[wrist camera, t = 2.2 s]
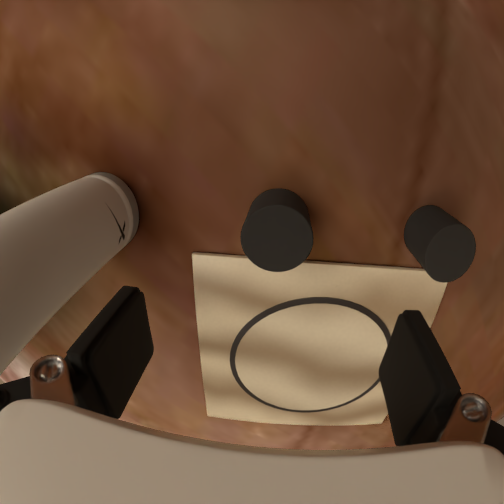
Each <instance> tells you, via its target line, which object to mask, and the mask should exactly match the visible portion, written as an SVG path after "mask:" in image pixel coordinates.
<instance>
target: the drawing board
mask: <svg viewBox="0 0 504 504" xmlns="http://www.w3.org/2000/svg"><path fill="white" fill-rule="evenodd" d="M192 264H193V279H194V293H195V306H196V318H197V329H198V339H199V349H200V359H201V368H202V376H203V385H204V393H205V400H206V408H207V415H208V416H211V417H218V418H225V419H233V420H241V421H250V422H261V423H274V424H290V425H365V424H381V423H382V422H383V420H384V419H385V417H386V415H387V414H388V410H387V406H386V402H385V398H384V394H383V390H382V386H381V382H380V378H379V366H380V364H381V361H382V359H383V356H384V354H385V351H386V349H387V346H388V343H389V341H390V338H391V335H392V332H393V329H394V327H395V324H396V321H397V318H398V315H399V314H402V313H403V312H404V310H419V311H420V312H421V313H422V315H423V317H424V319H425V320H426V322H427V324H428V326H429V327H430V328H431V325H432V323H433V320H434V318H435V315H436V313H437V310H438V307H439V305H440V302H441V299H442V297H443V294H444V291H445V288H446V285H447V282H446V283H442V282H437V281H435V280H433V279H432V278H431V277H430V276H429V275H428V274H427V272H426V271H425V270H424V269H419V268H404V267H390V266H376V265H362V264H348V263H334V262H320V261H306V260H305V261H304V262H303V263H302V264H300V265H299V266H297V267H296V268H294V269H291V270H289V271H284V272H271V271H267V270H264V269H261V268H259V267H258V266H256V265H255V264H253V263H252V262H251V261H250V260H249V259H248V257H247V256H239V255H226V254H213V253H200V252H193V253H192Z"/></svg>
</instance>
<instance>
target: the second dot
mask: <svg viewBox="0 0 504 504" xmlns="http://www.w3.org/2000/svg"><path fill="white" fill-rule="evenodd" d="M404 240H405V244H406V246H407V248H408V249H409V251H410V252H411V253H412V254H413V256H414V257H415V258H416V259H417V261H418V262H419V263H420V264H421V266H422V267H423V268H424V270H425V271H426V272H427V274H428V275H429V276H430V277H431V278H432V279H433V280H435V281H437V282H442V283H446V282H451V281H454V280H456V279H458V278H459V277H461V276H462V275H463V274H464V273H465V272H466V271H467V270H468V268H469V267H470V265H471V263H472V261H473V259H474V256H475V250H476V243H475V238H474V235H473V234H472V232H471V231H470V229H469V228H467V227H466V226H465V225H463V224H462V223H461V222H459V221H458V220H457V219H455V218H454V217H452V216H451V215H450V214H448V213H447V212H445V211H444V210H443V209H441V208H440V207H437V206H434V205H427V206H423V207H421V208H419V209H417V210H416V211H415V212H414V213H413V214H412V215H411V216H410V218H409V219H408V221H407V223H406V226H405V230H404Z"/></svg>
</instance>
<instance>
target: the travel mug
mask: <svg viewBox="0 0 504 504" xmlns="http://www.w3.org/2000/svg"><path fill="white" fill-rule="evenodd" d="M138 223H139V211H138V206H137V202H136V200H135V197H134V195H133V193H132V191H131V190H130V188H129V187H128V186H127V185H126V184H125V183H124V182H123V181H122V180H121V179H120V178H118V177H116V176H115V175H113V174H109V173H106V172H98V173H93V174H90V175H88V176H85V177H83V178H80V179H78V180H75V181H73V182H70V183H68V184H65V185H63V186H60V187H58V188H56V189H53V190H51V191H49V192H47V193H44V194H42V195H40V196H38V197H35V198H33V199H31V200H29V201H27V202H25V203H23V204H21V205H18V206H16V207H14V208H12V209H10V210H8V211H6V212H4V213H3V214H1V215H0V375H1V374H2V373H3V371H4V370H5V369H6V368H7V367H8V365H9V364H10V363H11V362H12V361H13V360H14V358H15V357H16V356H17V355H18V354H19V353H20V351H21V350H22V349H23V348H24V347H25V346H26V345H27V344H28V342H29V341H30V340H31V339H32V338H33V337H34V336H35V335H36V334H37V332H38V331H39V330H40V329H41V328H42V327H43V326H44V325H45V324H46V323H47V322H48V321H49V320H50V319H51V317H52V316H53V315H54V314H55V313H56V312H57V311H58V310H59V309H60V308H61V307H62V306H63V305H64V304H65V303H66V302H67V301H68V300H69V299H70V298H71V297H72V296H73V295H74V294H75V293H76V292H77V291H78V290H79V289H80V288H81V287H82V286H83V285H84V284H85V283H86V282H87V281H88V280H89V279H90V278H91V277H92V276H93V275H94V274H96V273H97V272H98V271H99V270H100V269H101V268H102V267H103V266H104V265H105V264H106V263H107V262H108V261H109V260H111V259H112V258H113V257H114V256H115V255H116V254H117V253H118V252H119V251H120V250H121V249H123V248H124V247H125V246H126V245H127V244H128V243H129V242H130V241H131V240H132V239H133V237H134V236H135V234H136V231H137V228H138Z"/></svg>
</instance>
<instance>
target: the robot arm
mask: <svg viewBox="0 0 504 504" xmlns="http://www.w3.org/2000/svg"><path fill="white" fill-rule="evenodd" d="M153 350H154V347H153V342H152V337H151V331H150V326H149V321H148V315H147V310H146V304H145V298H144V294H143V292H140V290H139V288H137V287H130V286H123V287H122V288H121V289H120V290H119V291H118V292H117V293H116V295H115V296H114V297H113V298H112V299H111V300H110V301H109V302H108V304H107V305H106V306H105V307H104V308H103V309H102V310H101V312H100V313H99V314H98V315H97V316H96V317H95V319H94V320H93V321H92V322H91V323H90V325H89V326H88V327H87V328H86V329H85V330H84V332H83V333H82V334H81V335H80V336H79V338H78V339H77V340H76V341H75V343H74V344H73V345H72V346H71V347H70V349H69V350H68V351H67V352H66V353H67V356H66V357H65V358H64V359H63V358H62V357H60V356H58V355H47V356H44V357H41V358H40V359H38V360H37V361H36V362H35V363H34V364H33V365H32V367H31V369H30V376H29V377H25V378H22V379H18V380H15V381H11V382H8V383H4V384H0V504H504V427H503V426H502V425H500V424H498V423H497V422H495V421H493V420H491V415H492V411H491V407H490V405H489V403H488V402H487V401H486V400H485V399H484V398H483V397H482V396H480V395H478V394H475V393H467V394H463V395H462V394H461V392H460V389H461V388H460V386H459V384H458V382H457V380H456V378H455V375H454V373H453V371H452V369H451V367H450V365H449V363H448V361H447V359H446V357H445V355H444V354H443V352H442V350H441V348H440V346H439V344H438V342H437V340H436V338H435V337H434V335H433V333H432V331H431V329H430V327H429V326H428V324H427V322H426V320H425V319H424V317H423V315H422V313H421V312H420V311H419V310H404V312H403V313H402V314H399V315H398V318H397V321H396V324H395V327H394V329H393V332H392V335H391V338H390V341H389V343H388V346H387V349H386V351H385V354H384V356H383V359H382V361H381V364H380V366H379V378H380V382H381V386H382V390H383V394H384V398H385V402H386V406H387V410H388V414H389V418H390V423H391V427H392V432H393V436H394V441H395V444H396V447H384V448H371V449H353V450H298V449H278V448H265V447H254V446H245V445H237V444H229V443H222V442H215V441H209V440H203V439H198V438H192V437H187V436H182V435H177V434H173V433H168V432H164V431H160V430H155V429H151V428H147V427H144V426H140V425H136V424H133V423H129V422H125V421H122V420H118V419H119V418H120V416H121V415H122V413H123V411H124V409H125V407H126V405H127V403H128V401H129V399H130V397H131V395H132V393H133V391H134V389H135V387H136V385H137V383H138V382H139V380H140V378H141V376H142V374H143V372H144V370H145V368H146V366H147V364H148V363H149V361H150V359H151V357H152V355H153Z"/></svg>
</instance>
